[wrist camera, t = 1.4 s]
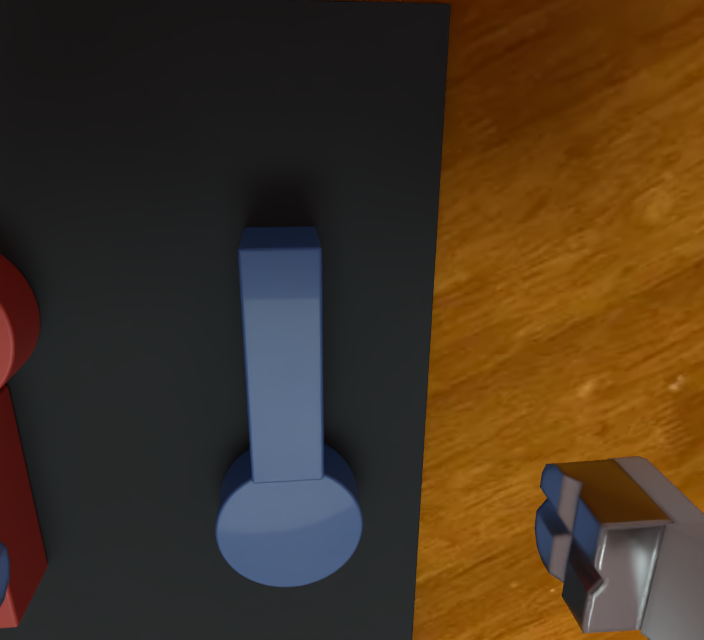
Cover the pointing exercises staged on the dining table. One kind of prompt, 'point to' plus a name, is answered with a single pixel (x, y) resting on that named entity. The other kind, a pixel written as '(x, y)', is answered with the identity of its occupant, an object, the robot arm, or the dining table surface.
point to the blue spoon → (285, 424)
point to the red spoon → (17, 449)
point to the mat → (214, 292)
